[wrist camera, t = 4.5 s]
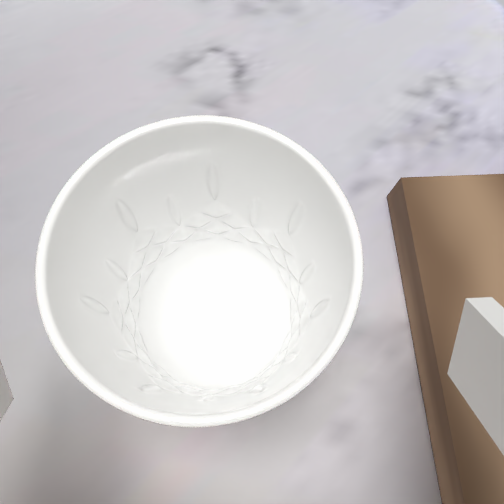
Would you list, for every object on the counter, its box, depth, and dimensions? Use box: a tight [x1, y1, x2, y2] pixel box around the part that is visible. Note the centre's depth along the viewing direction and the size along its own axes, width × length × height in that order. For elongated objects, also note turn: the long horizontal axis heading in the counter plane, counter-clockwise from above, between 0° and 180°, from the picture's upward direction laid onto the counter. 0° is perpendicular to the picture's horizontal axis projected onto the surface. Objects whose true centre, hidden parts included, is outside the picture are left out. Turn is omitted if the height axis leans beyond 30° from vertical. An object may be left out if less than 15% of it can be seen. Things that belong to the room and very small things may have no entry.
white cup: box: [35, 115, 363, 427], centre depth 15 cm, size 8×8×10 cm
